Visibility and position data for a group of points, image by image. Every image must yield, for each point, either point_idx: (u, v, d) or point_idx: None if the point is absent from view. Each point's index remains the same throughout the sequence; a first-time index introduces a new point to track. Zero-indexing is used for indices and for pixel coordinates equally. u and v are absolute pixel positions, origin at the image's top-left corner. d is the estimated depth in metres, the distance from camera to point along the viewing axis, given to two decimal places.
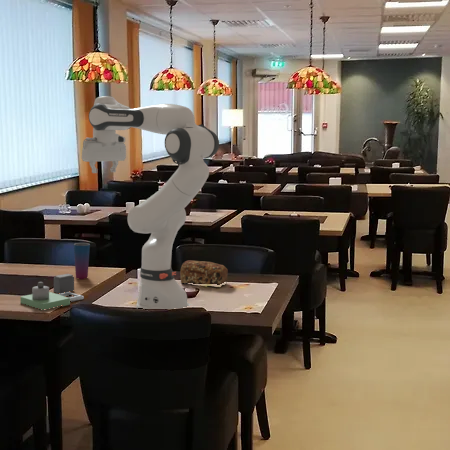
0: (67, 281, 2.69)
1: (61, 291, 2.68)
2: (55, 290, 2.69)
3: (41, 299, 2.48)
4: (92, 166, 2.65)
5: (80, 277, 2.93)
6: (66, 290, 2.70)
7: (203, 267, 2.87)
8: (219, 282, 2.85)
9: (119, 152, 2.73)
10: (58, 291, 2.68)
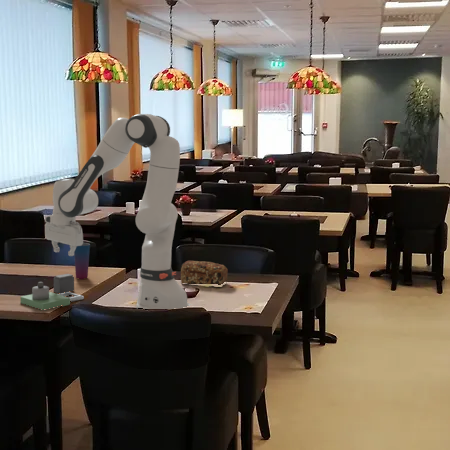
0: (67, 281, 2.69)
1: (61, 291, 2.68)
2: (55, 290, 2.69)
3: (41, 299, 2.48)
4: (73, 249, 2.65)
5: (80, 277, 2.93)
6: (66, 290, 2.70)
7: (204, 267, 2.86)
8: (220, 282, 2.85)
9: None
10: (58, 291, 2.68)
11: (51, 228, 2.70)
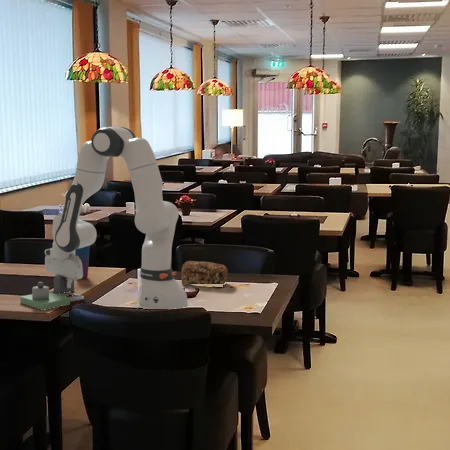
0: None
1: (61, 291, 2.68)
2: (55, 290, 2.69)
3: (41, 299, 2.48)
4: (70, 281, 2.68)
5: None
6: (66, 290, 2.70)
7: (205, 267, 2.86)
8: (221, 282, 2.85)
9: None
10: (58, 291, 2.68)
11: (51, 261, 2.72)
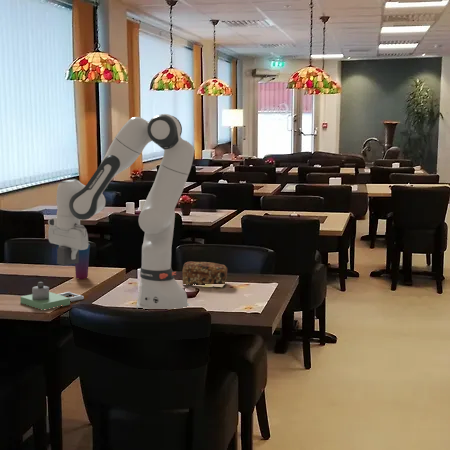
0: (71, 252, 2.57)
1: (65, 262, 2.55)
2: (59, 261, 2.56)
3: (41, 299, 2.48)
4: (75, 252, 2.56)
5: (80, 277, 2.93)
6: (70, 261, 2.57)
7: (206, 268, 2.86)
8: (223, 282, 2.86)
9: None
10: (62, 262, 2.55)
11: (55, 231, 2.60)
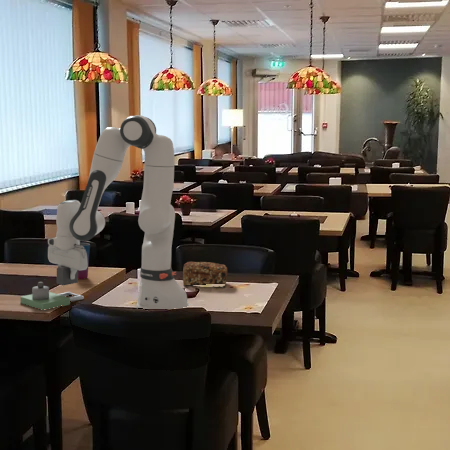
0: None
1: (64, 282, 2.56)
2: (58, 281, 2.57)
3: (41, 299, 2.48)
4: (74, 272, 2.57)
5: (80, 277, 2.93)
6: (69, 281, 2.58)
7: (207, 268, 2.86)
8: (224, 282, 2.86)
9: None
10: (61, 282, 2.56)
11: (54, 251, 2.61)
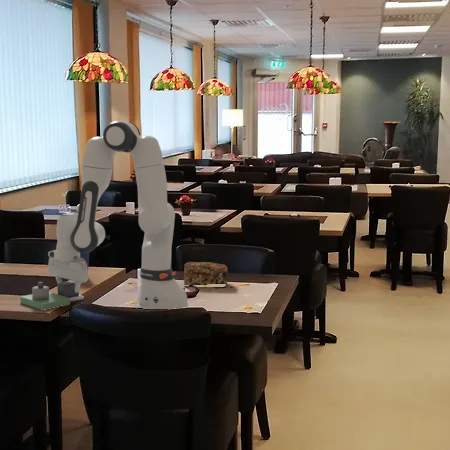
0: (71, 288, 2.59)
1: None
2: None
3: (41, 299, 2.48)
4: (78, 285, 2.56)
5: None
6: None
7: (208, 268, 2.85)
8: (225, 282, 2.86)
9: None
10: None
11: (55, 263, 2.61)
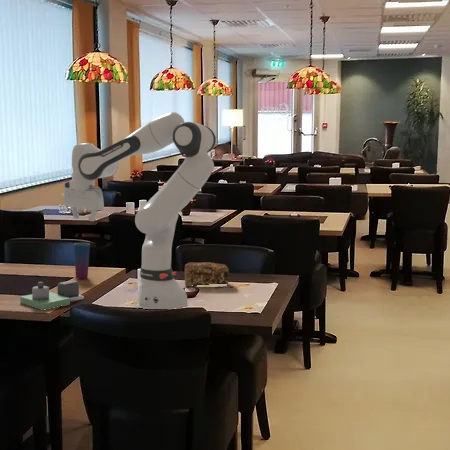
0: (71, 288, 2.59)
1: None
2: None
3: (41, 299, 2.48)
4: (94, 214, 2.62)
5: (80, 277, 2.93)
6: None
7: (209, 268, 2.85)
8: (227, 282, 2.86)
9: None
10: None
11: (70, 194, 2.67)
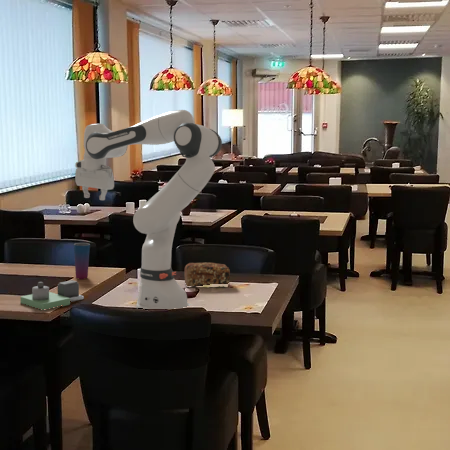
0: (71, 288, 2.59)
1: None
2: None
3: (41, 299, 2.48)
4: (104, 193, 2.68)
5: (80, 277, 2.93)
6: None
7: (211, 268, 2.85)
8: (228, 281, 2.87)
9: None
10: None
11: (82, 174, 2.73)
